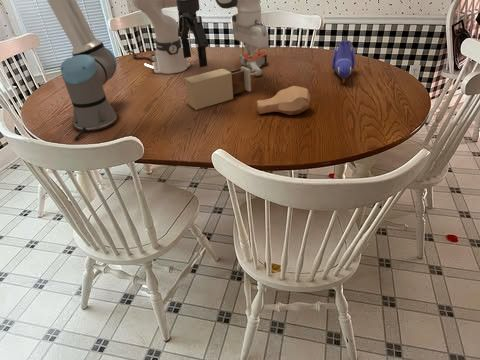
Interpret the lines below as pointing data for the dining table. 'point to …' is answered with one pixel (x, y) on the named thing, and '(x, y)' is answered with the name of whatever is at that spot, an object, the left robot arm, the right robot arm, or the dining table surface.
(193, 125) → the dining table surface
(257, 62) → the grey and red gadget
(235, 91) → the drawer
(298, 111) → the squash
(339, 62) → the toy
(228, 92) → the beige rectangular block
